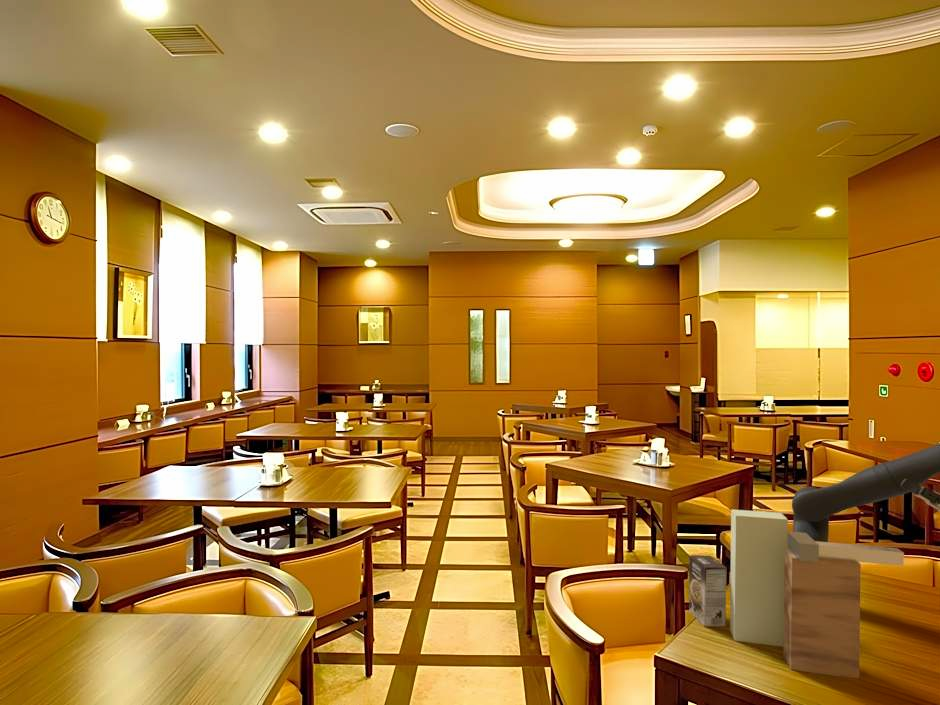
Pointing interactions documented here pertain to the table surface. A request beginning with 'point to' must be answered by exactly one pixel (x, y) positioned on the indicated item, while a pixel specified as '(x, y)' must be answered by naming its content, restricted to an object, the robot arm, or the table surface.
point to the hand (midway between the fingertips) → (911, 486)
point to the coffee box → (707, 590)
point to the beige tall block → (757, 576)
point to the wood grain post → (822, 616)
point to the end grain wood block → (841, 551)
